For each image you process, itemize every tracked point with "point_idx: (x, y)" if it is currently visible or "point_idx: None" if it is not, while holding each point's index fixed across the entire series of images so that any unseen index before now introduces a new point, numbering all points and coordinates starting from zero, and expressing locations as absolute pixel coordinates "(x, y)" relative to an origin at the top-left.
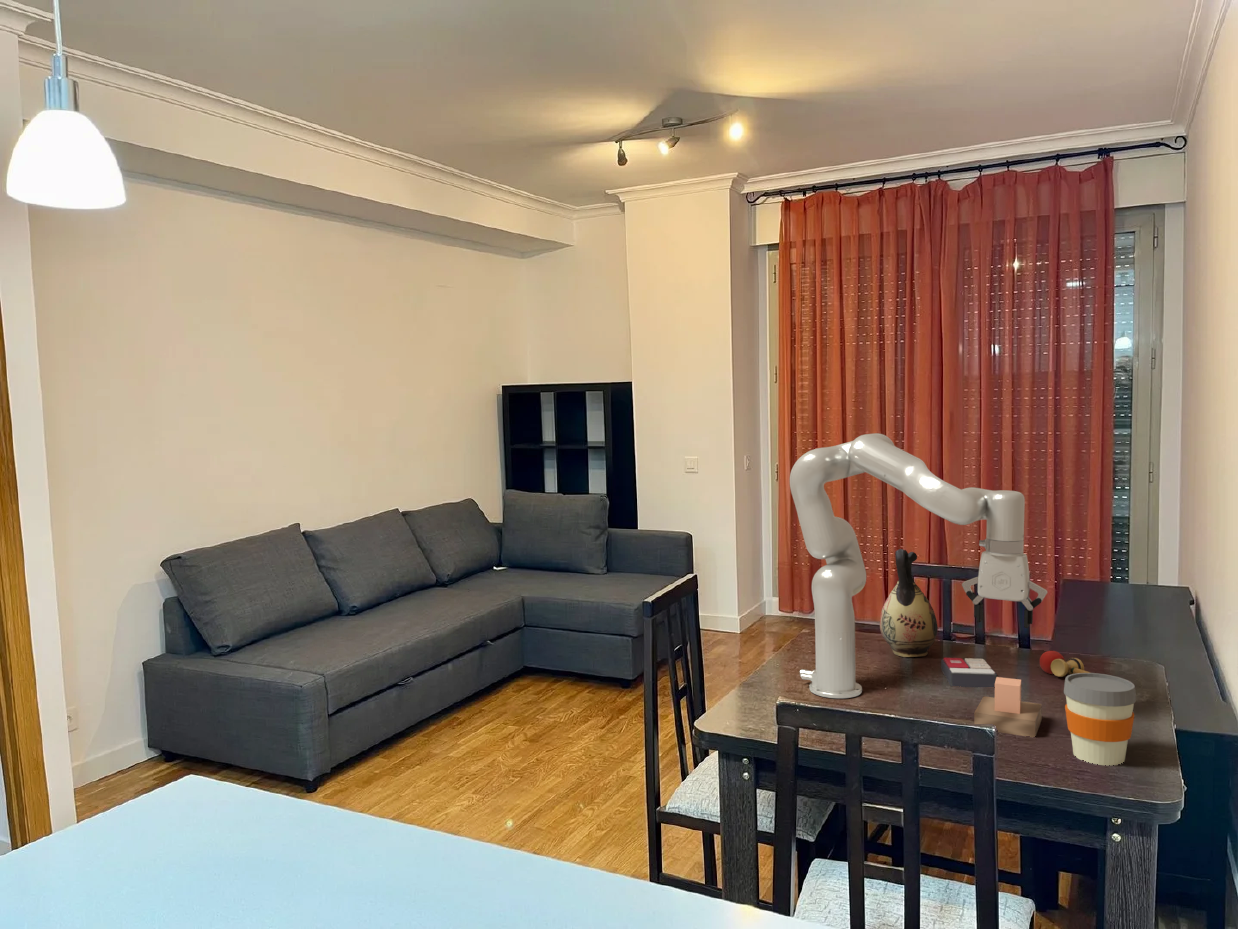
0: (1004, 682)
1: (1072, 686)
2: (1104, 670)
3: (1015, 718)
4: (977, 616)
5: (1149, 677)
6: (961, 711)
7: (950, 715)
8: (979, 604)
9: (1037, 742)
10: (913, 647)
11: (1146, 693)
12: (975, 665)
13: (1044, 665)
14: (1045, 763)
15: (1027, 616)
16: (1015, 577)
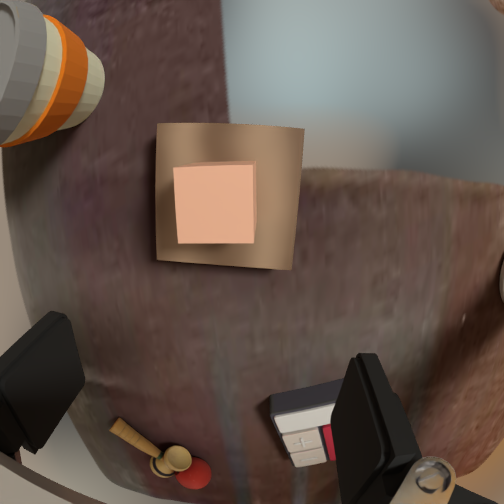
0: (223, 190)
1: (17, 4)
2: (141, 470)
3: (201, 123)
4: (382, 378)
5: (94, 453)
6: (335, 237)
7: (356, 201)
8: (388, 473)
9: (164, 101)
10: None
11: (74, 409)
12: (310, 439)
13: (202, 466)
14: (151, 7)
15: (8, 350)
16: None
